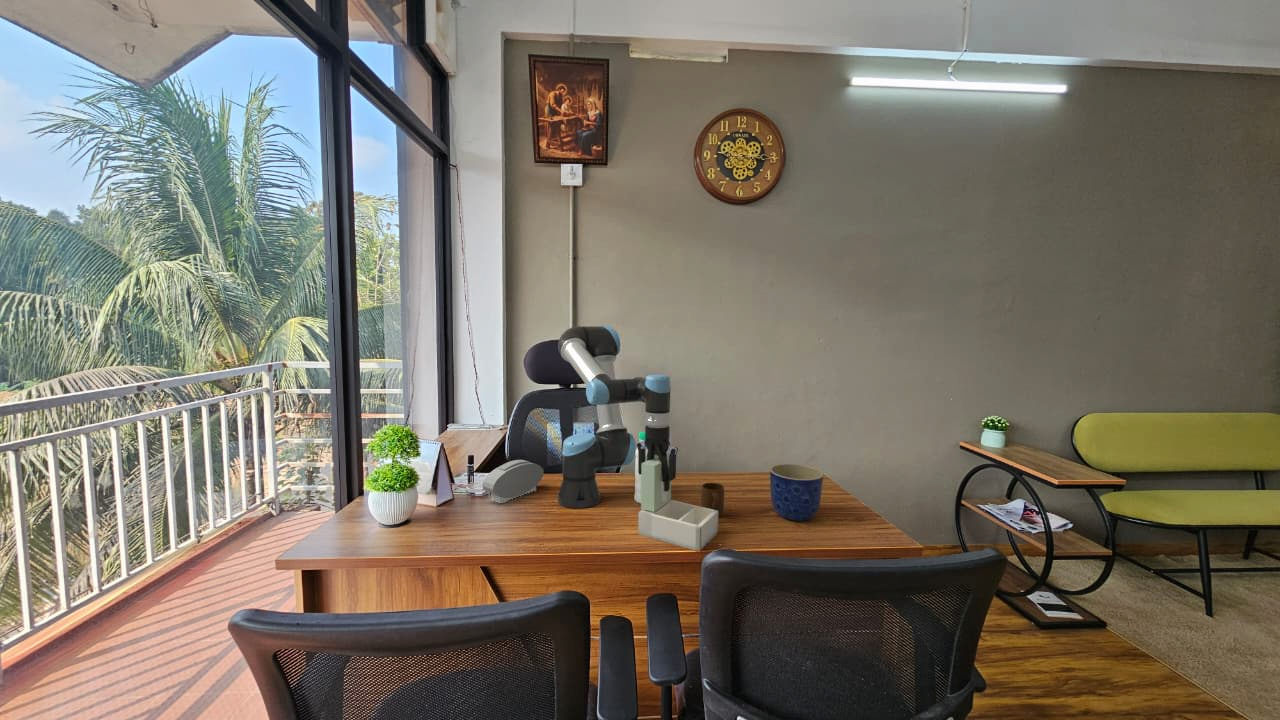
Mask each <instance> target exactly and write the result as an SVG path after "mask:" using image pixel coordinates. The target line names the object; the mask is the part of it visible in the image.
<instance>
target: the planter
mask: <svg viewBox="0 0 1280 720" xmlns="http://www.w3.org/2000/svg"><path fill="white" fill-rule="evenodd" d="M824 476H825V475H824V472H823V471H821V470H820V469H818V468H816V467H813V466H809V465H804V464H800V463H799V464H798V463H778V464H774V465H772V466H770V468H769V485H770V486H769V487H770V488H769V489H770V502H771V505H772V508H773V509H774V511H775V513H777V514H778V515H779V516H780V517H782V518H784V519H786V520H790V521H795V522H796V521H798V522H800V521H801V522H803V521H808V520H811V519H813V517H815V516H816V514H818V511H819V509H820V506H821V498H822V491H823V484H824Z"/></svg>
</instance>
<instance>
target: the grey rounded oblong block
mask: <svg viewBox="0 0 1280 720" xmlns="http://www.w3.org/2000/svg"><path fill="white" fill-rule="evenodd" d="M544 472H545V471H544V468H543V467H541V465H539V464H537V463H533V462H530V461H528V460H524V459H515V460H511V461H508V462H505V463H503V464H502V465H499V466H498V467H496V468H495V469H493V470H492V471H490V472H489V473H488V474H487V475H486V477H485V478H483V479H484V480H483V481H482V489H483V491H484V492H486V493H488V494H489V495H490V494H491V495H492V496H491V501H492V500H493V501H496V502H499V503H501V502H504V501H507V500H510V499H512V500H514V499H513V498H515V499H517V498H516V497H518V496H520V497H523V496H525V495H524V494H526V495H528V494H530V492H531V493H533V491H534V492H536V491H537V485H538V484H539V483H540V482H541V481H542V479H543V477H544ZM527 493H528V494H527ZM522 495H523V496H522ZM518 498H519V497H518ZM493 501H492V502H493ZM510 501H511V500H510ZM507 502H508V501H507ZM504 503H505V502H504Z"/></svg>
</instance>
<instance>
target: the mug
mask: <svg viewBox="0 0 1280 720" xmlns="http://www.w3.org/2000/svg"><path fill="white" fill-rule="evenodd" d="M700 490H701V492H700V494H701V495H700V507H704V508H709V509H713V510H718V518H719V517H722V516H723V515H724V508H725V506H724V504H725V487H724V485H723V484H720V483H717V482H705V483H702V485H701V489H700Z"/></svg>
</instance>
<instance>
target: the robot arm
mask: <svg viewBox="0 0 1280 720" xmlns="http://www.w3.org/2000/svg"><path fill="white" fill-rule="evenodd" d="M557 348H558V352H559V354H560V357H562V359H563V360H564V361H566V362H568V363H570V365H571V366H572V367H573V369H574V370H575V372H576V373H577V374H578V376H579V377H580V378H581V380H582V381H583V382H584V384H585V385H586V388H585V396H586V397H587V401H588V403H589V404H590V405H593V406H596V411H597V419H598V425H599V428H598V429H597V431H596V433H595V434H596V435H595V434H594V433H590V432H585V433H582V432H581V433H576V434H573V435H570V436H568V437H566V438H565V439H564V441H563V444H562V452H561V453H562V482H561V484H560V487H559V491H558V494H557V502H558V504H559V505H560V506H563V507H565V508H569V509H570V508H571V509H585V508H591V507H593V506H596V505H597V504H599V503H600V502H601V492H600V489H599V486H598V482H597V480H596V479H597V478H596V471H598V470H605V469H610V468H620V467H625V466H628V465H630V464H631V463H632V462H633V461H634V458H635V457H636V455H635V451H636V449H637V448H638V473H639V474H641V464H642V463H644V462H646V450H645V448H647V449H648V453H647V461H648V460H652V459H654V457H656V456H658V459H659V460H660V462H662V467H661V470H662V475H663V480H662V481H661V502H664V501H666V500H667V491H669V489H670V481H671V482H672V481H673V480H675V479H676V477H677V476H676V475H677V454H678V452H679V448H678V447H677V446H675V447H674V446H672V445H671V443H670V432H671V430H670V423H671V422H670V421H671V419H670V418H671V417H670V416H671V415H670V414H671V413H670V412H671V411H670V409H671V389H672V388H671V379H670V377H669V375H666V374H656V373H655V374H648V375H646V377H642V376H633V377H631V378H619V379H618V378H616V373H615V366H614V363H615V361H616V360H617V356H618V355H619V354H620V351H621V340H620V335H619V333H618V331H617V330H615V329H614V328H613V327H611V326H605V325H601V326H592V325H590V326H583V325H582V326H580V325H579V326H577V325H576V326H572V327H570V328H568V329H566V330H565V331H564V332H563V333H562V334H560V337H559V339H558V343H557ZM637 402H642V403H644V407H645V423H644V424H645V427H644V432H645V437H646V439H645V441H644V442H640V441H639V442H638V443H636V440H635V439H636V438H634V435H633V434H632V433H630V432H628V428H627V427H626V426H625V425H624V424H623V421H622V414H621V408H620V404H625V403H628V404H629V403H637ZM667 451H668V453H667ZM668 454H669V456H668ZM667 456H668V457H669V467H668V462H667Z"/></svg>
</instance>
